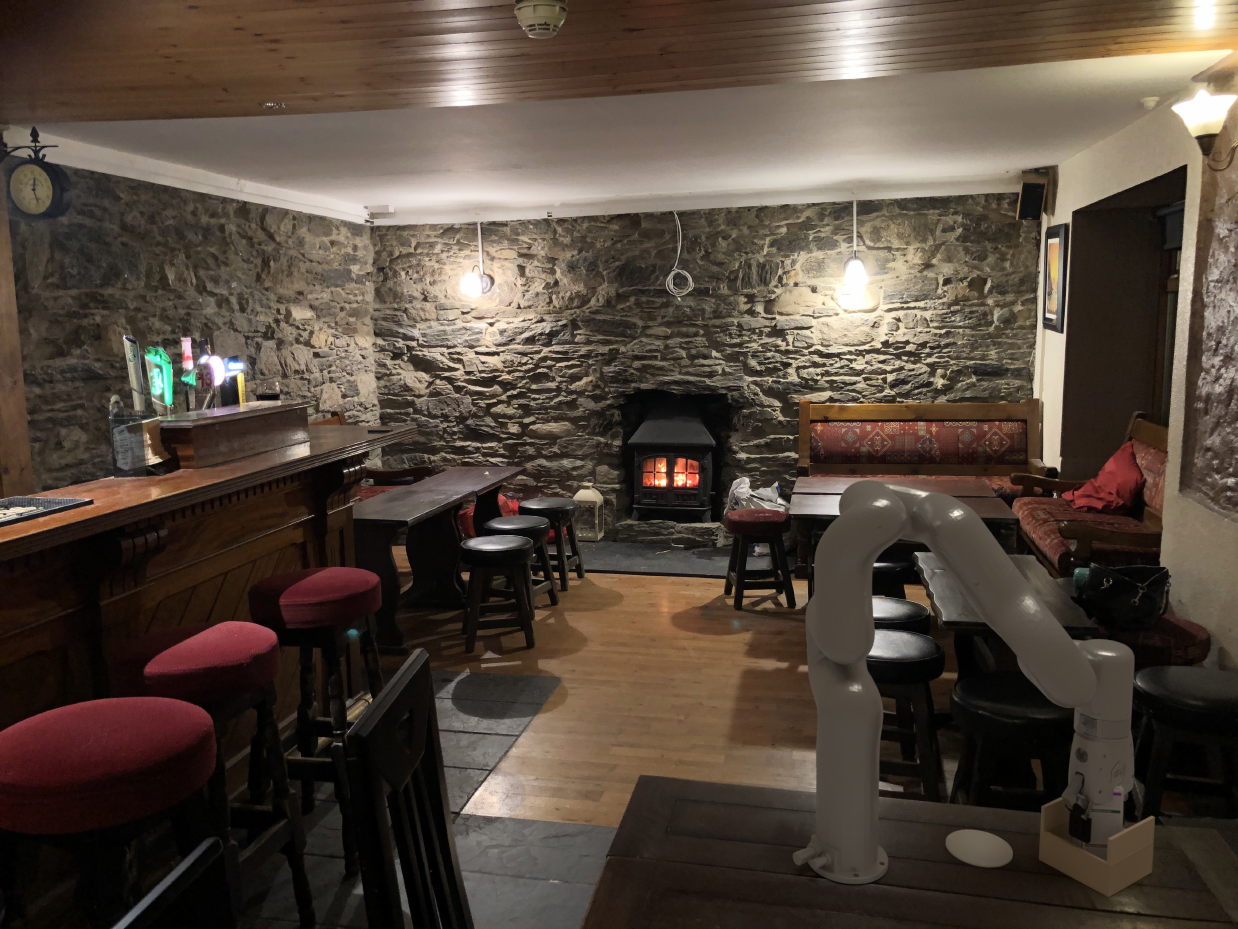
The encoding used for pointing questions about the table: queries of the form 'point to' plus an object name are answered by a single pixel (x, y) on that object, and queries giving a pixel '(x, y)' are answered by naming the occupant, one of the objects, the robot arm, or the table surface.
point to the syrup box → (1103, 823)
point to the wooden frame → (1124, 855)
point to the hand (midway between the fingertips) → (1096, 829)
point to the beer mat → (979, 848)
